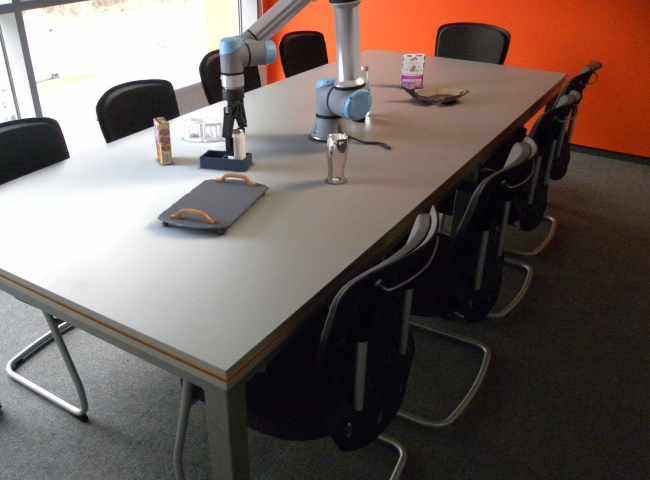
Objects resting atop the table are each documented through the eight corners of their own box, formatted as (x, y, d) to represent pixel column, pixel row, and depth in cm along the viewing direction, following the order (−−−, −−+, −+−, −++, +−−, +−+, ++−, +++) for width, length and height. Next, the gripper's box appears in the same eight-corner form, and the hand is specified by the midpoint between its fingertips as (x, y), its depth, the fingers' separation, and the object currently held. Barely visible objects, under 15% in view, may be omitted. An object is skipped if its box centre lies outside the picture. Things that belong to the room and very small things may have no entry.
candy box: (173, 163, 225) (169, 122, 217) (162, 165, 224) (157, 123, 216) (168, 157, 232) (163, 116, 224) (157, 158, 231) (152, 118, 223)
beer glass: (348, 178, 206) (350, 133, 198) (344, 185, 200) (346, 140, 192) (328, 176, 208) (329, 132, 200) (323, 183, 202) (324, 138, 195)
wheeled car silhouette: (236, 136, 252) (235, 119, 248) (224, 144, 244) (223, 126, 240) (194, 132, 260) (192, 115, 256) (181, 140, 251) (179, 122, 247)
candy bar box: (421, 86, 321) (425, 53, 312) (422, 88, 316) (425, 54, 308) (399, 86, 322) (402, 53, 314) (400, 88, 318) (403, 55, 310)
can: (244, 167, 216) (242, 133, 210) (226, 167, 217) (224, 133, 211) (247, 161, 222) (246, 128, 216) (230, 161, 223) (228, 128, 217)
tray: (252, 163, 222) (251, 152, 220) (244, 171, 215) (243, 160, 213) (209, 160, 227) (208, 149, 225) (200, 168, 220) (199, 157, 218)
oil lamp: (461, 109, 278) (463, 91, 274) (396, 103, 291) (398, 87, 287) (471, 98, 295) (473, 81, 291) (410, 93, 307) (411, 77, 303)
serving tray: (224, 240, 167) (223, 219, 164) (151, 230, 175) (148, 209, 171) (273, 191, 197) (273, 173, 194) (209, 184, 205) (208, 166, 202)
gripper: (234, 79, 216) (237, 140, 227) (209, 94, 197) (213, 160, 208) (254, 80, 214) (256, 141, 225) (231, 95, 195) (234, 161, 206)
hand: (236, 150), depth 217 cm, fingers open, 11 cm apart
